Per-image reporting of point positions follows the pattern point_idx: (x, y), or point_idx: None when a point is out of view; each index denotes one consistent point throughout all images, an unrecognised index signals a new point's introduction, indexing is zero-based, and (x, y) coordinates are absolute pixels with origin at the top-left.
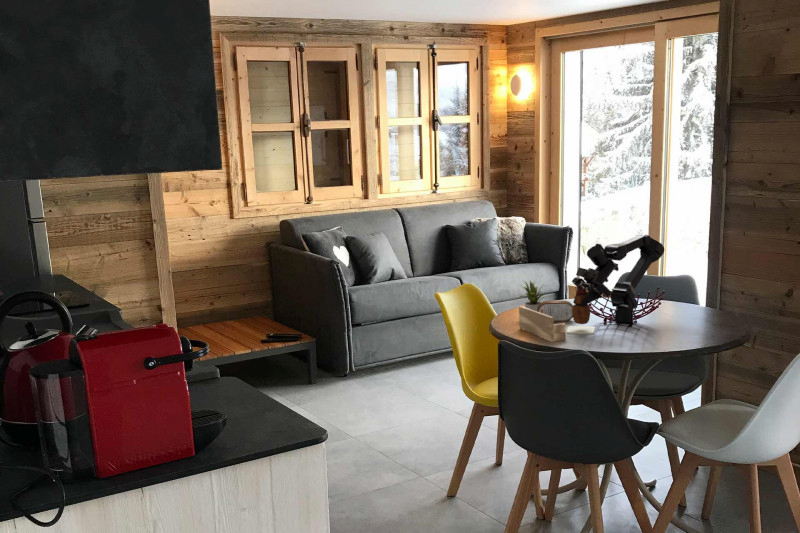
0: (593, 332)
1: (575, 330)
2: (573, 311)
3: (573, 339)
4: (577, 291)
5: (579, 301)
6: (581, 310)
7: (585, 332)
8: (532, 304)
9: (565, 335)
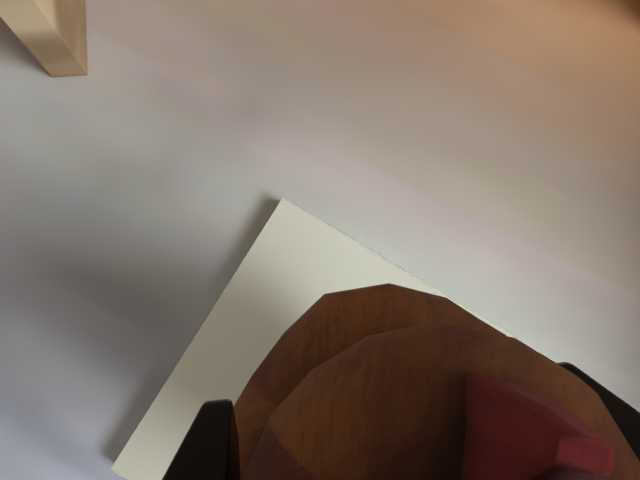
0: (119, 470)
1: None
2: (359, 289)
3: (18, 149)
4: (548, 468)
5: (286, 401)
6: (239, 403)
7: (166, 381)
8: None
9: (32, 52)
